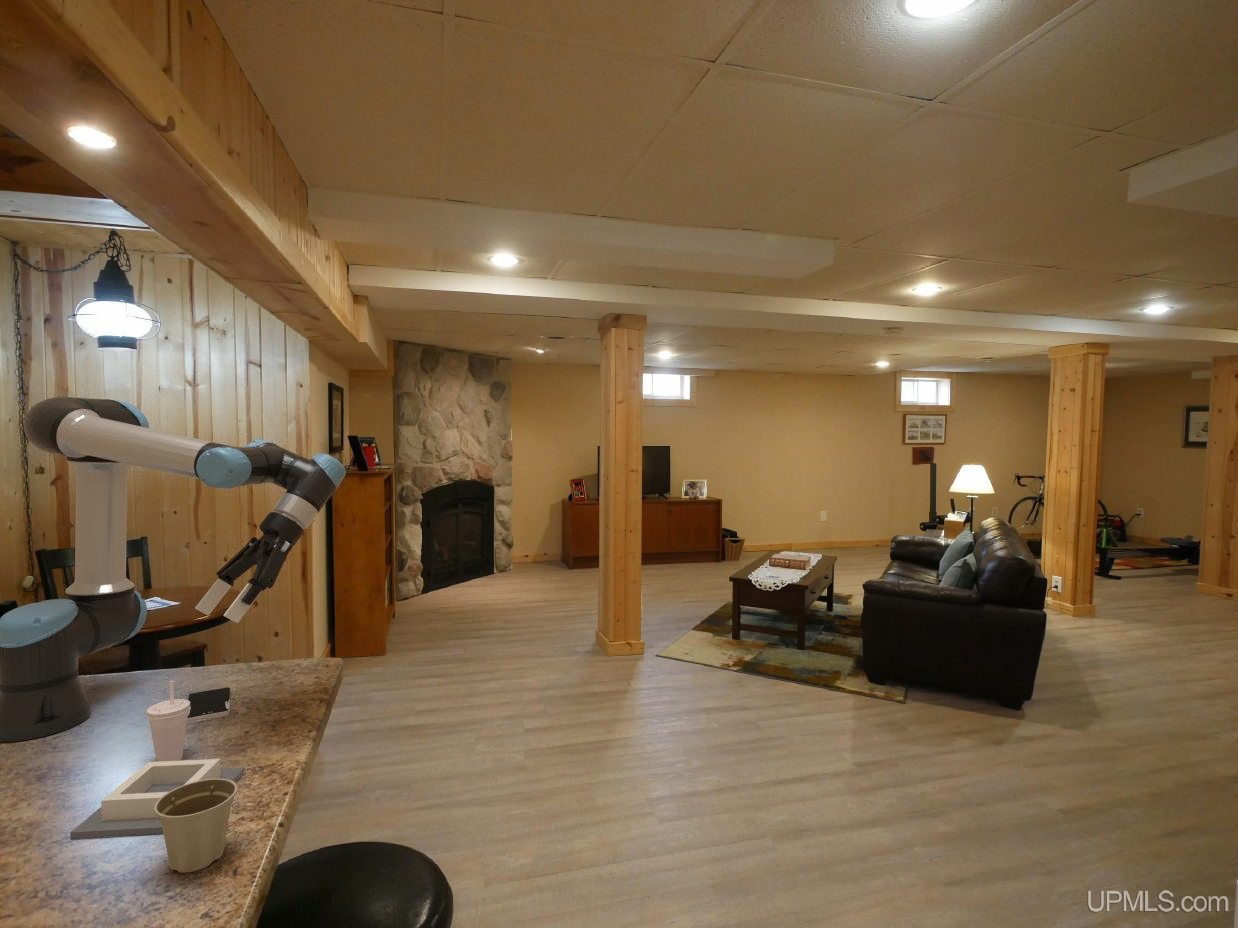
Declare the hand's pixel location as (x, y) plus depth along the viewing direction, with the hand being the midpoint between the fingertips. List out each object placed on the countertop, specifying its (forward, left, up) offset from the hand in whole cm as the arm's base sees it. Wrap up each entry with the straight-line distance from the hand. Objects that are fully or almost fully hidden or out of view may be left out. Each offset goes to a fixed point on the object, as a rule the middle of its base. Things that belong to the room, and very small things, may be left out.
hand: (215, 615), depth 117 cm
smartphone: (-17, -10, -25) cm, 32 cm away
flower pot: (+34, +14, -24) cm, 44 cm away
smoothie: (+6, -5, -24) cm, 25 cm away
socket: (+20, +2, -24) cm, 31 cm away
